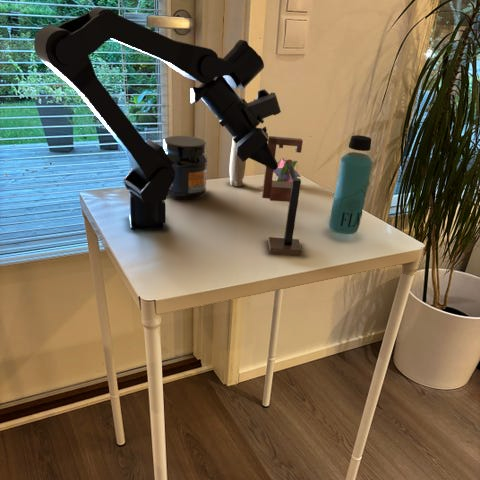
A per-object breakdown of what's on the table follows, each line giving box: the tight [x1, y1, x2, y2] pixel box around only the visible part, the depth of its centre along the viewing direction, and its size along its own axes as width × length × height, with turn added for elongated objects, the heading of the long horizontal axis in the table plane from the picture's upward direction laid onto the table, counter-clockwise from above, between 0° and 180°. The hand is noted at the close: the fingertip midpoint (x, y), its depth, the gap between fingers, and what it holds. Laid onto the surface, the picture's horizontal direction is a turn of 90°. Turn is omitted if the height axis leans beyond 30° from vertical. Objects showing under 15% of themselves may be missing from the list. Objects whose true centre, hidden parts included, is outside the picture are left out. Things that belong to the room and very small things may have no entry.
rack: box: [267, 159, 303, 257], centre depth 99 cm, size 6×16×14 cm, turn 1°
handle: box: [229, 139, 247, 187], centre depth 124 cm, size 5×6×15 cm
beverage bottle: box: [328, 134, 374, 235], centre depth 101 cm, size 6×7×20 cm
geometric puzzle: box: [273, 157, 301, 182], centre depth 129 cm, size 7×7×8 cm
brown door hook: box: [261, 135, 304, 203], centre depth 106 cm, size 7×4×12 cm, turn 91°
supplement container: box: [162, 135, 209, 200], centre depth 116 cm, size 10×10×12 cm
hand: (276, 167), depth 105 cm, fingers closed on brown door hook, 2 cm apart
